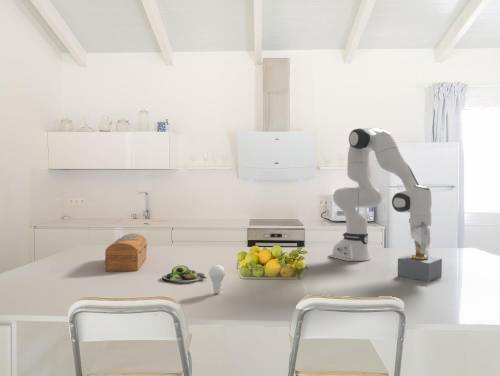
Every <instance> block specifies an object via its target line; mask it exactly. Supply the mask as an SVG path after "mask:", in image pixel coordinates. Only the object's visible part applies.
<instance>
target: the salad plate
mask: <svg viewBox="0 0 500 376" xmlns="http://www.w3.org/2000/svg"><path fill="white" fill-rule="evenodd" d="M207 278H208V277H207V276H206V274H205V273H204V272H199V271H198V272H197V271H196V270H193V269H189V267H188V266H186V265H177V266H174V267H173V268H172V269H171V272H170V273H166V274H163V275H161V279H162V280H163V281H164V282H168V283H175V284H183V285H184V284H193V283H197V282H199V281H201V280H204V279H207Z"/></svg>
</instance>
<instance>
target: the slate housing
mask: <svg viewBox="0 0 500 376" xmlns="http://www.w3.org/2000/svg"><path fill="white" fill-rule="evenodd" d="M412 255H414V253H413V254H412V253H411V254H407V255H404V256H401V257H398V258H397V277H402V278H406V279H407V278H408V279H412V280H416V279H418V280H417V281H422V280H424V281H423V282H427V281H430V282H432V281H434V280H436V278H437V279H439V278H441V277H442V276H443V275H442V272H443V267H442V265H443V258H439V257H431V256H429V257H428V259H427V260H417V259H413V258H412ZM438 277H439V278H438ZM433 279H434V280H433ZM431 280H432V281H431Z"/></svg>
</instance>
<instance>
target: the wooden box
mask: <svg viewBox="0 0 500 376" xmlns="http://www.w3.org/2000/svg"><path fill="white" fill-rule="evenodd" d="M147 250H148V239H147V238H146V237H145V236H144V235H141V234H139V233H128V234H125V235H123V236H121V237H120V238H117V239H116V240H115V241H114V242H113V243H111V244H110V245H108V246H107V247H106V248H105V252H104V253H105V256H104V257H105V258H104V259H105V261H104V263H105V272H106V273H108V272H138V271H139V269H140V268H141V267H142V265H143V263H145V261H146V260H147V254H148V253H147Z"/></svg>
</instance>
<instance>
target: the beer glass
mask: <svg viewBox="0 0 500 376" xmlns="http://www.w3.org/2000/svg"><path fill="white" fill-rule="evenodd" d="M419 244H420V243H419ZM431 248H432V241H431V239H430V244H429V245H426V249H425V254H424V255H425V256H428V257H431V256H430V255H431V251H432V250H431Z"/></svg>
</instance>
